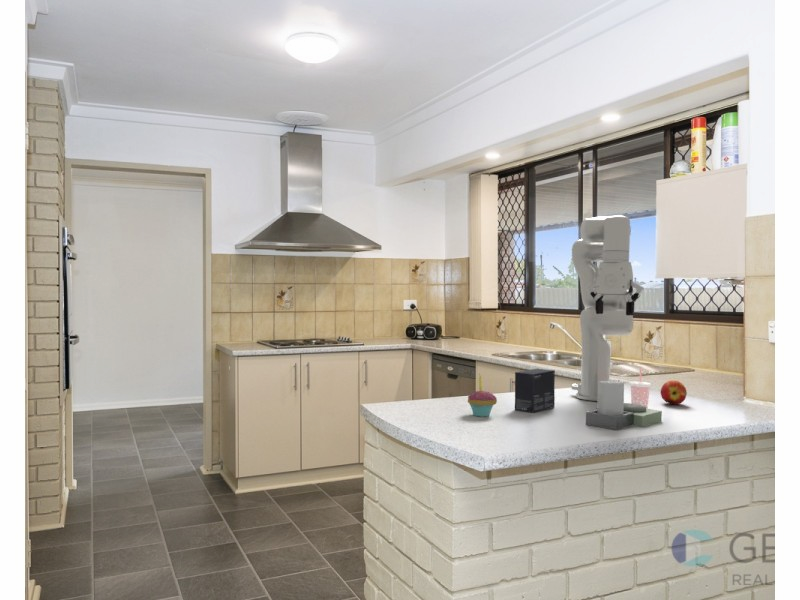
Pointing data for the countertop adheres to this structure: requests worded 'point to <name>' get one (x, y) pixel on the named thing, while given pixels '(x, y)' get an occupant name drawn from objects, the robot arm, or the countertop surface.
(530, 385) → the small box
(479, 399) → the cupcake
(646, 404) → the beverage cup
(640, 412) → the green domed square base
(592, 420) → the frame
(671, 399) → the apple
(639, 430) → the countertop surface
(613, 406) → the skincare box
